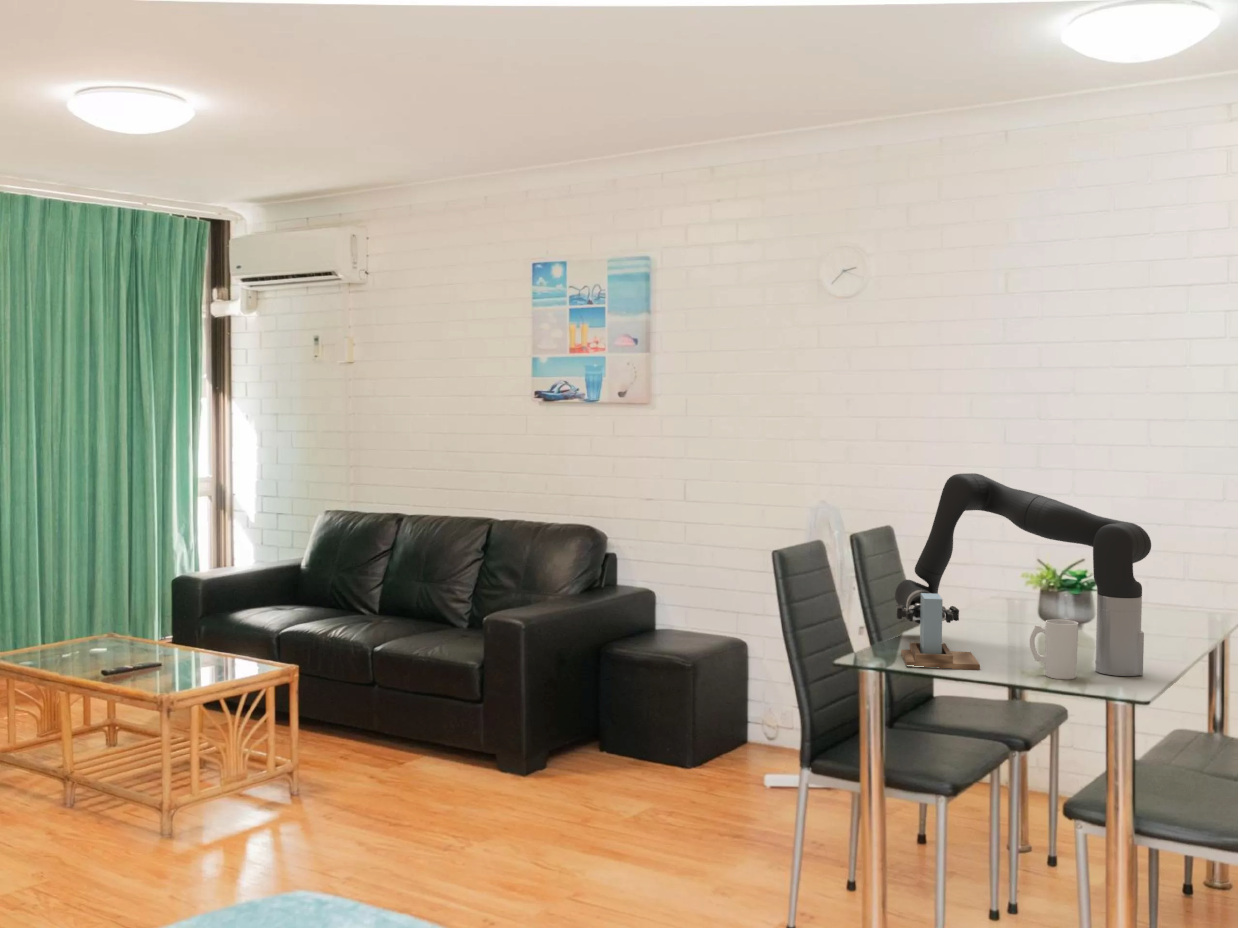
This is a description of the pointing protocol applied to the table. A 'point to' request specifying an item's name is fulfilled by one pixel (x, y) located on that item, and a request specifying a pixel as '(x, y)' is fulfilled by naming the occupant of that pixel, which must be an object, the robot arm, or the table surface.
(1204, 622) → the table surface
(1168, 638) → the table surface
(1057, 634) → the mug
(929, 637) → the door panel
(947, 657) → the base
